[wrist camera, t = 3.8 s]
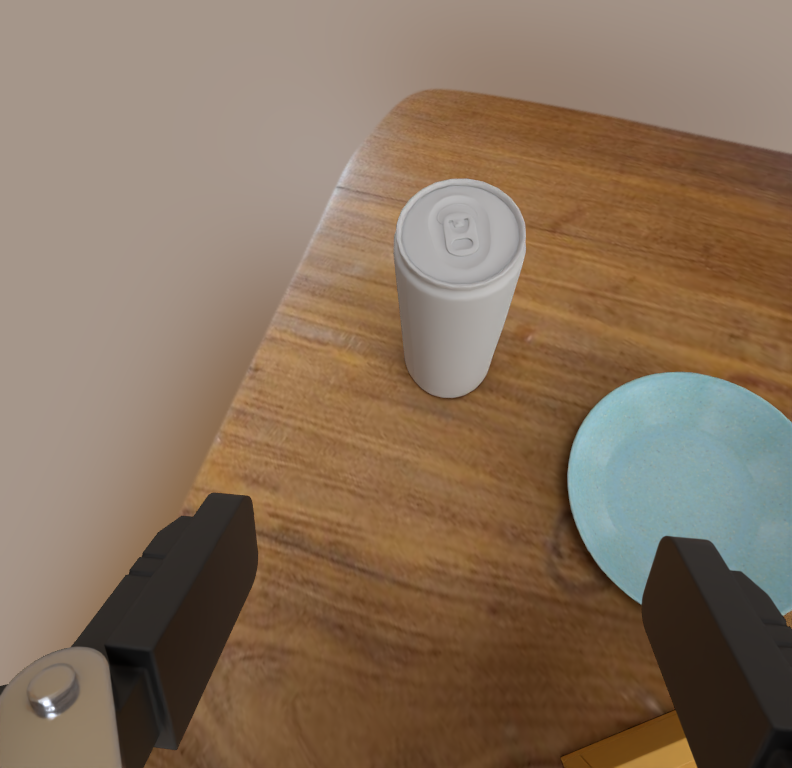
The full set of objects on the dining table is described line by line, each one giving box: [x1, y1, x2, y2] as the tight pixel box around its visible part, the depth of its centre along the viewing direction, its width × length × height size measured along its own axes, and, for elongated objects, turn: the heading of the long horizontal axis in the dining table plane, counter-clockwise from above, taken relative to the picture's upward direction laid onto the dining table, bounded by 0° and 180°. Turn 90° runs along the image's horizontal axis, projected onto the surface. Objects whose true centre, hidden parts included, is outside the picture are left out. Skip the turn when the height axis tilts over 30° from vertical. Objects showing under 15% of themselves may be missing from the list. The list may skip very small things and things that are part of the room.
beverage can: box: [394, 179, 526, 398], centre depth 24 cm, size 5×5×12 cm
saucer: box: [567, 372, 792, 616], centre depth 25 cm, size 12×12×2 cm
